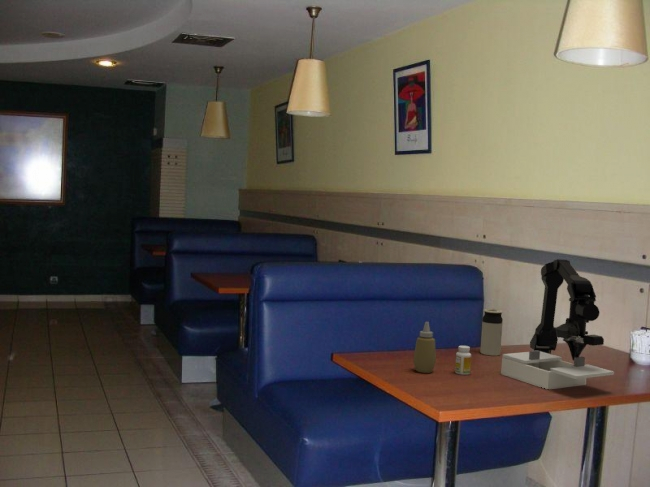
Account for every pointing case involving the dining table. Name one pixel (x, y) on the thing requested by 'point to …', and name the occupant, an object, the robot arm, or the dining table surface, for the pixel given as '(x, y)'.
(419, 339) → the squeeze bottle
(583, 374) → the flap
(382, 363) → the dining table surface
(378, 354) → the dining table surface
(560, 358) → the flap
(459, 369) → the supplement bottle
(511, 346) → the dining table surface
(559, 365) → the carton
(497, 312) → the travel mug
